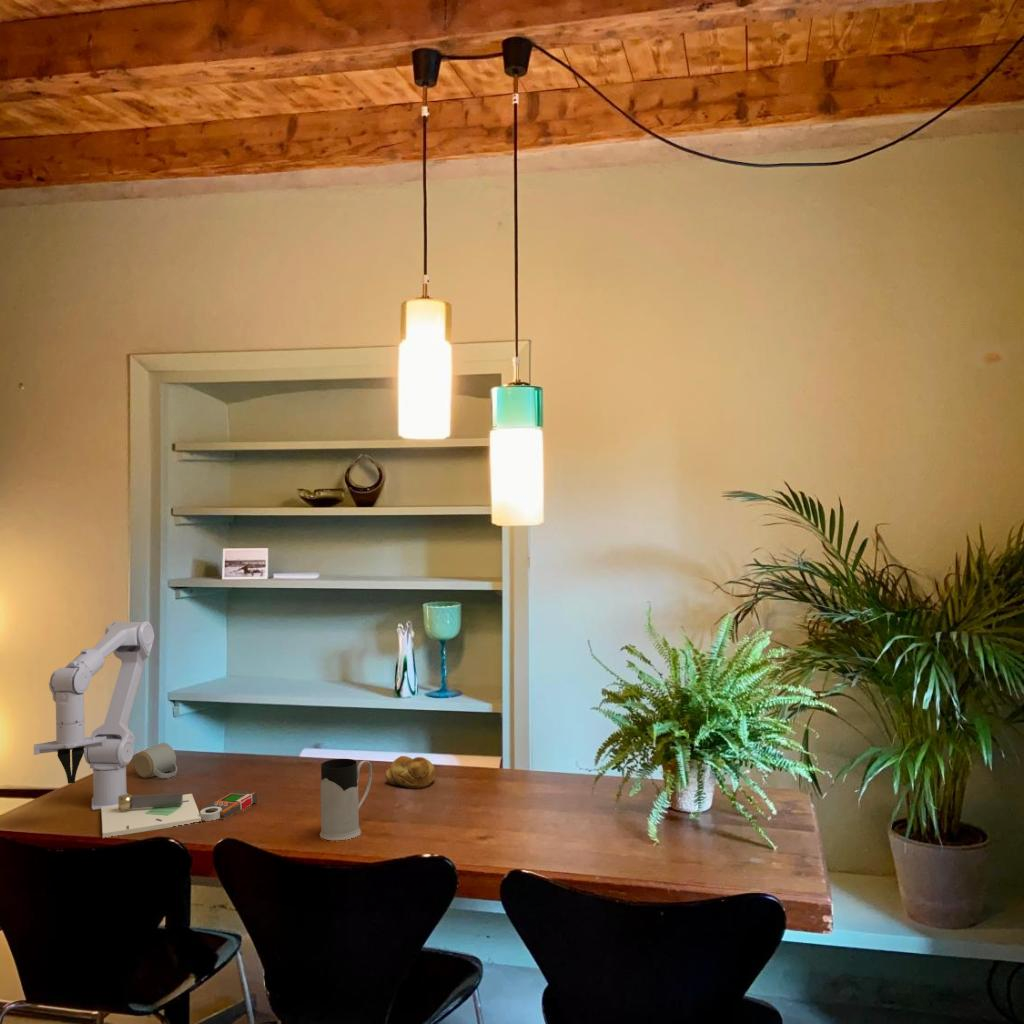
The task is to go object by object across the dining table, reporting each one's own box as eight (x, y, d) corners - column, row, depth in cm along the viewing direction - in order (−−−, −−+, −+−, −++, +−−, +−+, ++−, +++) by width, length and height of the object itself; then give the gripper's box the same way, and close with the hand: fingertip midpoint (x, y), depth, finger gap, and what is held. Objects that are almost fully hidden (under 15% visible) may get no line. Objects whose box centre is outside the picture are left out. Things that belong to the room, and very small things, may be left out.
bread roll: (378, 786, 223) (377, 754, 223) (399, 776, 232) (398, 745, 232) (422, 792, 218) (422, 759, 218) (442, 781, 227) (441, 749, 227)
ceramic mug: (132, 777, 236) (131, 748, 236) (156, 769, 243) (156, 741, 243) (161, 782, 231) (161, 753, 231) (185, 774, 238) (185, 745, 238)
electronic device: (192, 811, 200) (234, 788, 215) (193, 824, 201) (234, 800, 215) (217, 814, 198) (258, 790, 212) (218, 827, 198) (258, 803, 212)
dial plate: (101, 811, 209) (101, 805, 209) (191, 797, 217) (191, 792, 217) (102, 838, 191) (102, 832, 191) (201, 822, 199) (201, 817, 199)
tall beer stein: (310, 836, 189) (309, 765, 189) (357, 817, 201) (356, 750, 201) (340, 844, 184) (338, 771, 184) (387, 823, 196) (385, 755, 196)
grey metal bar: (116, 811, 204) (116, 798, 204) (120, 806, 207) (120, 794, 207) (180, 807, 206) (180, 794, 206) (183, 802, 209) (183, 790, 209)
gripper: (32, 729, 193) (33, 791, 193) (106, 721, 199) (107, 782, 199) (34, 722, 200) (35, 783, 199) (105, 715, 206) (106, 774, 206)
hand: (71, 782), depth 200 cm, fingers closed
